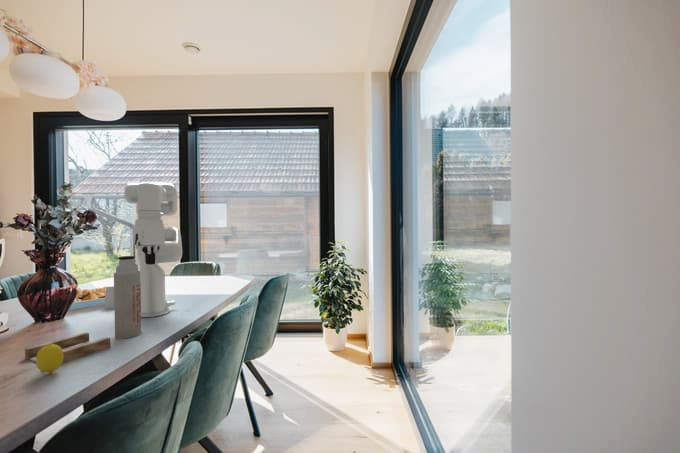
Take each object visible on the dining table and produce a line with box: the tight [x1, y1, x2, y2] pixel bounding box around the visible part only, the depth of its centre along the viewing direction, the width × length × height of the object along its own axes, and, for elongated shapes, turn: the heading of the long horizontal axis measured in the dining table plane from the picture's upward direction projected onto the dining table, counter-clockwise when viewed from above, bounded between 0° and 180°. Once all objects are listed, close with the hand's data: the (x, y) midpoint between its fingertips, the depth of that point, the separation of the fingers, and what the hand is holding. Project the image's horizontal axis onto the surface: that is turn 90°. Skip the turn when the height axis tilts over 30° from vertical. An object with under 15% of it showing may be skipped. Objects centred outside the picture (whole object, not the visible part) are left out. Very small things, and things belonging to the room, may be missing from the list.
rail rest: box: [24, 331, 112, 364], centre depth 103 cm, size 16×14×3 cm
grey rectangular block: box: [104, 285, 114, 310], centre depth 159 cm, size 4×7×10 cm, turn 110°
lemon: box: [35, 343, 64, 375], centre depth 89 cm, size 6×6×8 cm
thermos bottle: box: [113, 255, 142, 339], centre depth 119 cm, size 8×8×28 cm
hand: (150, 264), depth 127 cm, fingers closed
